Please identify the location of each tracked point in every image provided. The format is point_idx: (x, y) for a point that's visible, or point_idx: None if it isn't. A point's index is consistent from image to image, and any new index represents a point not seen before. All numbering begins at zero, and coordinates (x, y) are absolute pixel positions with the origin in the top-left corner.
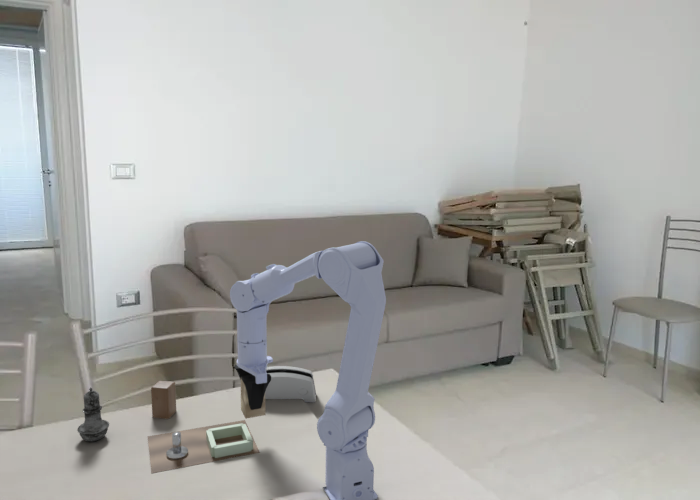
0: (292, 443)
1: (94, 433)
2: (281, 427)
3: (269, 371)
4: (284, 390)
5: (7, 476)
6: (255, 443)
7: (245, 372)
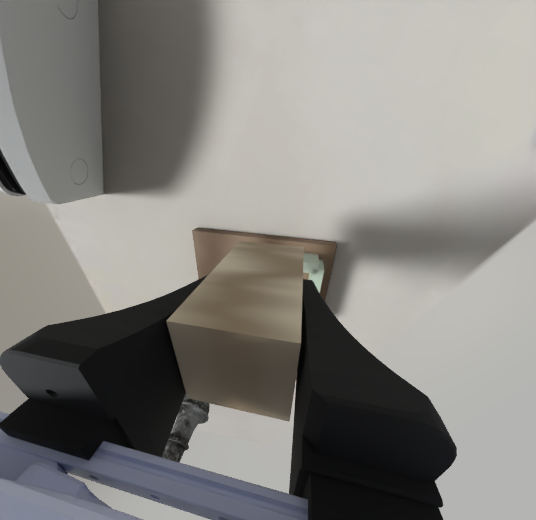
0: (318, 150)
1: (207, 416)
2: (232, 151)
3: None
4: (67, 80)
5: (241, 438)
6: (297, 242)
7: (163, 405)
